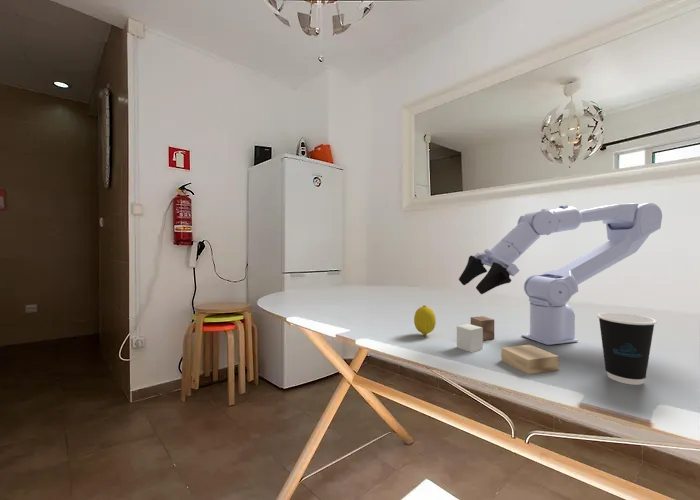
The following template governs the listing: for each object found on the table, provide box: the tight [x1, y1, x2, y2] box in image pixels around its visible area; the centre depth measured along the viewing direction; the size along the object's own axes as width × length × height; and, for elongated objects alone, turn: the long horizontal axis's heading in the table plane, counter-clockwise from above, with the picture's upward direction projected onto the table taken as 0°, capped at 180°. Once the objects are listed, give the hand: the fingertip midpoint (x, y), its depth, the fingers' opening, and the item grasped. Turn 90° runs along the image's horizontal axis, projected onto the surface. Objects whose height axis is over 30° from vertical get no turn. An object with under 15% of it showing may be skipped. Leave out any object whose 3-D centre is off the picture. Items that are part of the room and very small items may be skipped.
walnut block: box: [470, 315, 495, 341], centre depth 81 cm, size 4×4×5 cm
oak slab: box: [500, 344, 560, 375], centre depth 63 cm, size 7×7×3 cm
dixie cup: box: [596, 311, 657, 386], centre depth 56 cm, size 8×8×11 cm
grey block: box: [456, 323, 484, 353], centre depth 74 cm, size 4×4×5 cm
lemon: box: [413, 304, 437, 336], centre depth 84 cm, size 6×6×8 cm
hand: (469, 286), depth 78 cm, fingers open, 7 cm apart
